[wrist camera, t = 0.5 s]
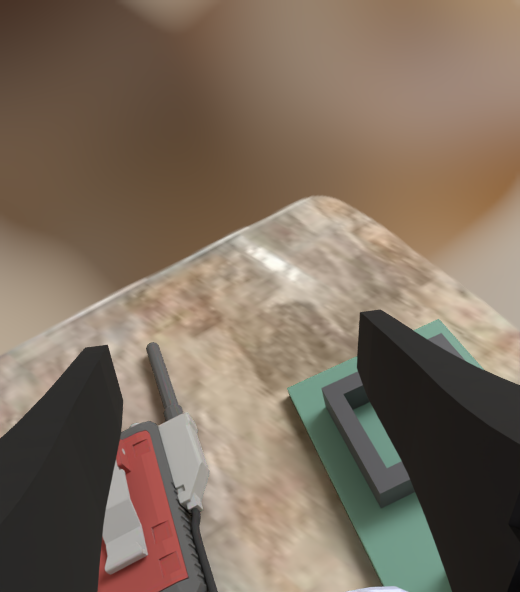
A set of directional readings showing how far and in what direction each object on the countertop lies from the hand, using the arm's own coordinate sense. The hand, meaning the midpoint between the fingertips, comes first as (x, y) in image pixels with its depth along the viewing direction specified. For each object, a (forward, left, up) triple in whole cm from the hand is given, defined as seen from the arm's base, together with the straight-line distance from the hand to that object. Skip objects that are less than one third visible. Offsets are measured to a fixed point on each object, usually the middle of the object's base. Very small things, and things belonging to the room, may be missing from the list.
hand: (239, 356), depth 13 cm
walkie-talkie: (+8, +9, -19) cm, 22 cm away
